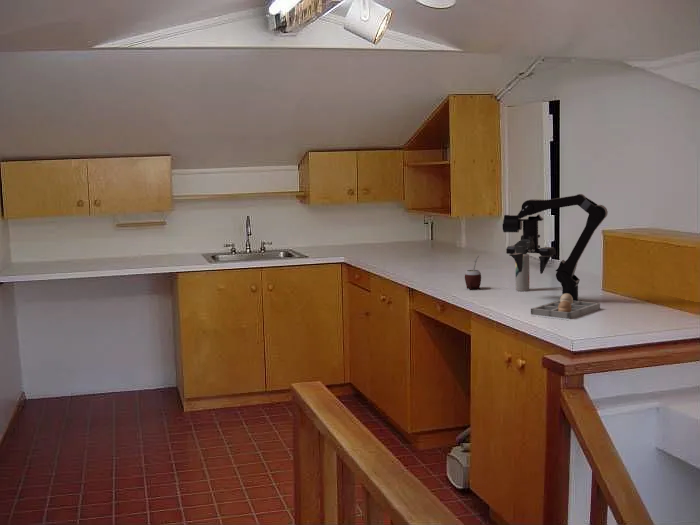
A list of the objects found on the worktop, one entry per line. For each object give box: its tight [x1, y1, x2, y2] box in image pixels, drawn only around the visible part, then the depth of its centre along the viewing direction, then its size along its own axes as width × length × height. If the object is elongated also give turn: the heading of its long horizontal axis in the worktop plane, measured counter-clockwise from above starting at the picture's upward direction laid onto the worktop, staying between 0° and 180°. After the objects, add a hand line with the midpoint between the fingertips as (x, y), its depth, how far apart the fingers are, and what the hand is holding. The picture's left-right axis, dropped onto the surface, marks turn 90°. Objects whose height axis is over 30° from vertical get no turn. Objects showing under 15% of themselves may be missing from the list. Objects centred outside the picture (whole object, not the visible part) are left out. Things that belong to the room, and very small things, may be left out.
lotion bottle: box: [514, 253, 530, 292], centre depth 335 cm, size 6×6×20 cm
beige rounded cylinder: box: [559, 293, 573, 304], centre depth 292 cm, size 4×4×5 cm
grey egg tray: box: [530, 299, 601, 321], centre depth 284 cm, size 22×15×3 cm
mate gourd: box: [464, 255, 482, 291], centre depth 343 cm, size 8×8×15 cm
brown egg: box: [558, 301, 571, 312], centre depth 277 cm, size 4×4×5 cm
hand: (530, 272), depth 310 cm, fingers open, 9 cm apart
